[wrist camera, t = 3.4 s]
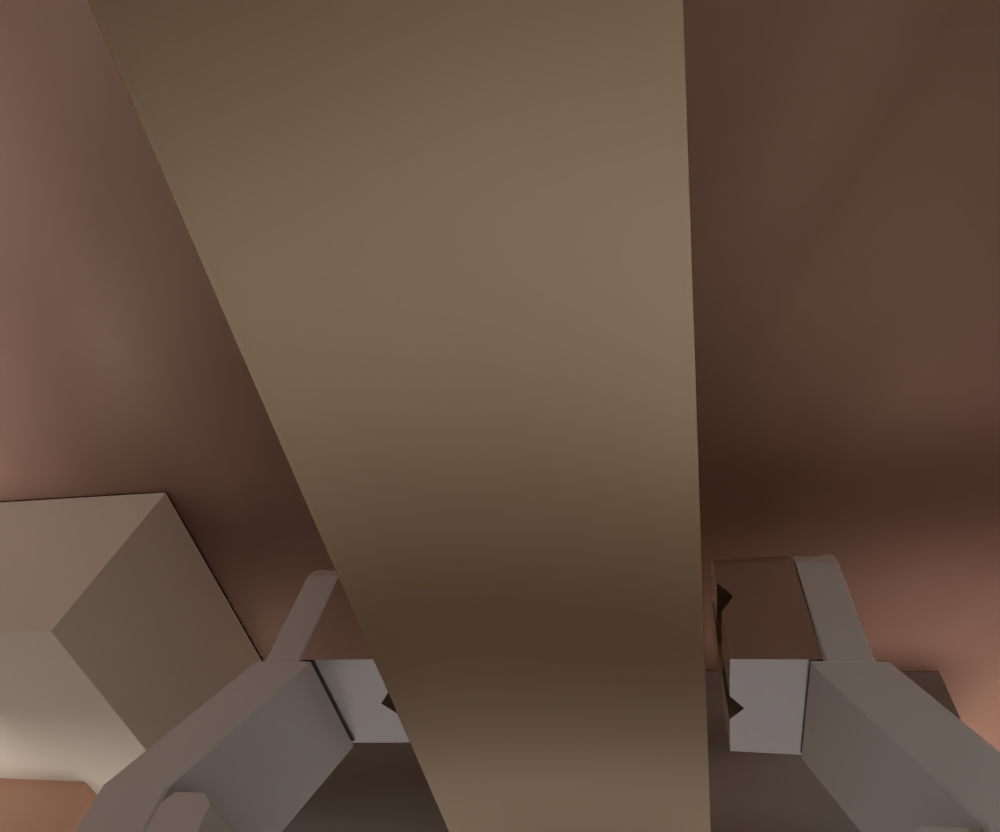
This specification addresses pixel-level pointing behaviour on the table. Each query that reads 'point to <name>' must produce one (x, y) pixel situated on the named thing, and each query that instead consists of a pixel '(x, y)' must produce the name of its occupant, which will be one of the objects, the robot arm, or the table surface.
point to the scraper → (477, 386)
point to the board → (104, 634)
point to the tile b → (43, 805)
